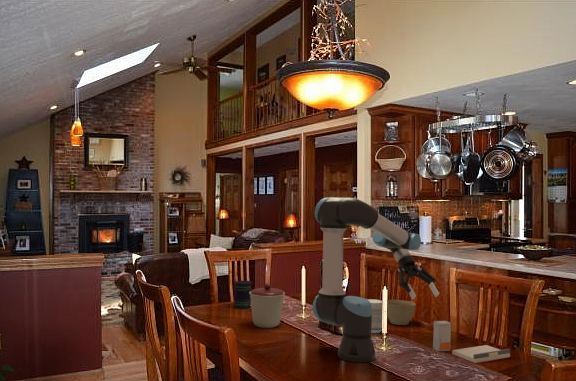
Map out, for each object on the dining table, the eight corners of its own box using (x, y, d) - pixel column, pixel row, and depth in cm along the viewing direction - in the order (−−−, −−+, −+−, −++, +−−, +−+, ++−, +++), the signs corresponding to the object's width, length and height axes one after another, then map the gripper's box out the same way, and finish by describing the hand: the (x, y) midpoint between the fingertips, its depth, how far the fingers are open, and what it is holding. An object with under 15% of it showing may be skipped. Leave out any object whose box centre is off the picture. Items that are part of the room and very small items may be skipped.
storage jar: (254, 307, 278) (254, 281, 278) (244, 310, 269) (244, 283, 270) (240, 304, 283) (241, 280, 283) (230, 307, 275) (231, 282, 275)
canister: (243, 328, 230) (244, 285, 230) (254, 319, 247) (255, 279, 248) (279, 331, 225) (280, 287, 226) (288, 322, 243) (289, 281, 243)
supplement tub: (387, 332, 229) (387, 301, 229) (372, 334, 224) (373, 303, 224) (373, 327, 237) (373, 298, 238) (359, 330, 232) (359, 300, 232)
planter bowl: (421, 326, 243) (422, 304, 243) (395, 328, 237) (395, 306, 237) (403, 318, 258) (403, 298, 258) (378, 320, 252) (378, 300, 252)
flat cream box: (475, 363, 186) (475, 355, 186) (452, 354, 197) (452, 346, 197) (510, 357, 195) (510, 349, 195) (486, 348, 206) (486, 341, 206)
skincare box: (438, 351, 200) (438, 323, 200) (432, 348, 204) (433, 321, 204) (450, 351, 201) (451, 322, 202) (445, 348, 205) (445, 320, 206)
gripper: (420, 263, 235) (442, 299, 221) (380, 265, 224) (400, 303, 210) (428, 253, 230) (451, 289, 216) (387, 255, 219) (408, 293, 205)
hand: (426, 296), depth 213 cm, fingers open, 13 cm apart
